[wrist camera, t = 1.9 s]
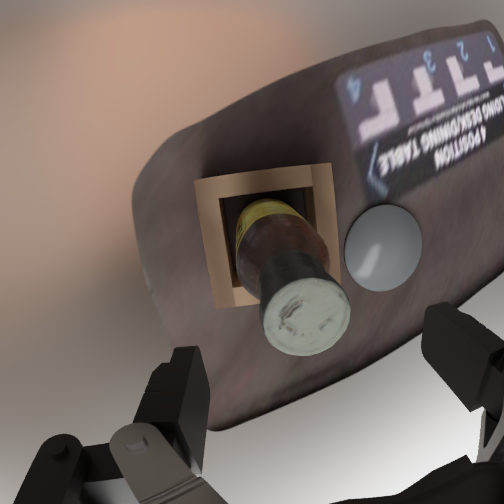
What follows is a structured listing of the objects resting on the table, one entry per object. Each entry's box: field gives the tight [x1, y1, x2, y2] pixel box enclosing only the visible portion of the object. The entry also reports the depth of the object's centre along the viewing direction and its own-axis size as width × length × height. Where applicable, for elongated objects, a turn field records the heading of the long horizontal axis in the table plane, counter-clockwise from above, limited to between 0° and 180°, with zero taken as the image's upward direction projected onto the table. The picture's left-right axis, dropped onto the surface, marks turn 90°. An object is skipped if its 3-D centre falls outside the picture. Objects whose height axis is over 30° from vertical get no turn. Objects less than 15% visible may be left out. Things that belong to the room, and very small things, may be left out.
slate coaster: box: [344, 204, 422, 291], centre depth 33 cm, size 10×10×1 cm
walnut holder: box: [193, 163, 341, 309], centre depth 30 cm, size 12×12×5 cm
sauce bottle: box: [236, 198, 351, 356], centre depth 22 cm, size 6×6×20 cm
